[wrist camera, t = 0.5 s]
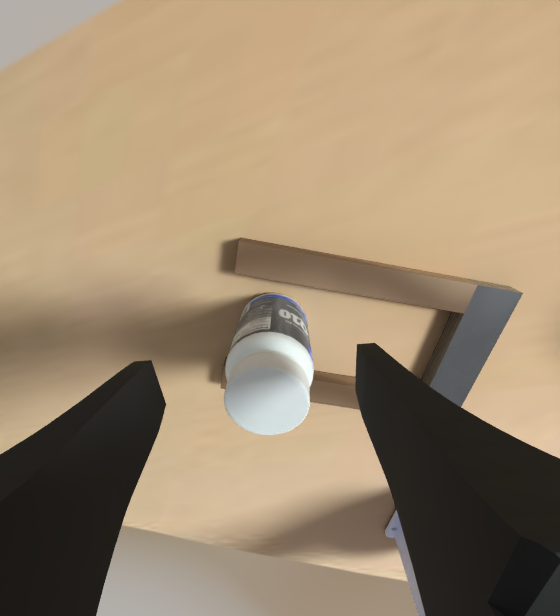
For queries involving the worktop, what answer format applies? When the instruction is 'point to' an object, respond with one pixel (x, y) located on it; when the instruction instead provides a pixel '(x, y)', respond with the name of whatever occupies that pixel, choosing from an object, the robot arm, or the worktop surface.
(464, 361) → the panel
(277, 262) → the guide channel
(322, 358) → the worktop surface
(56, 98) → the worktop surface
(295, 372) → the pill bottle
